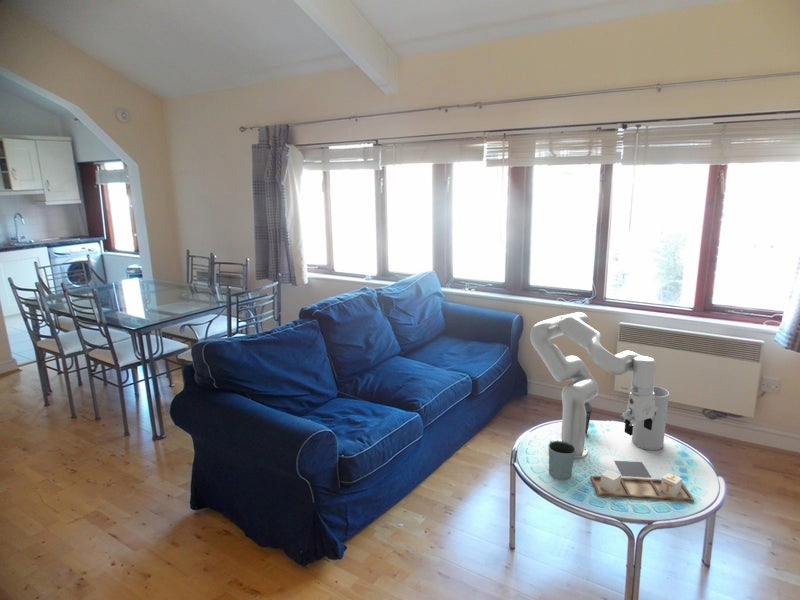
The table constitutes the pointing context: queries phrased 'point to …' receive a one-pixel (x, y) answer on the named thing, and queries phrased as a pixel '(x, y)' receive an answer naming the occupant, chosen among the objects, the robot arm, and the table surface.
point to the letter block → (671, 484)
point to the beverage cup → (587, 414)
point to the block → (610, 481)
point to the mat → (632, 469)
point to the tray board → (641, 490)
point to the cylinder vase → (653, 424)
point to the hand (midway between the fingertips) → (638, 431)
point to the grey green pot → (561, 459)
